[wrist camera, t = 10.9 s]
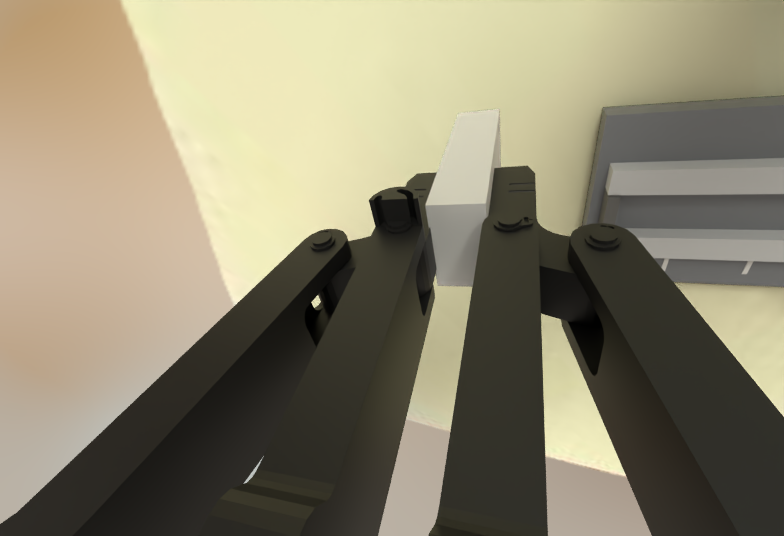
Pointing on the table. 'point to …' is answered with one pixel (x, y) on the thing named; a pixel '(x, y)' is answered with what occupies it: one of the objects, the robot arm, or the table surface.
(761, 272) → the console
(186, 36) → the table surface
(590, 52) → the table surface
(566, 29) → the table surface
